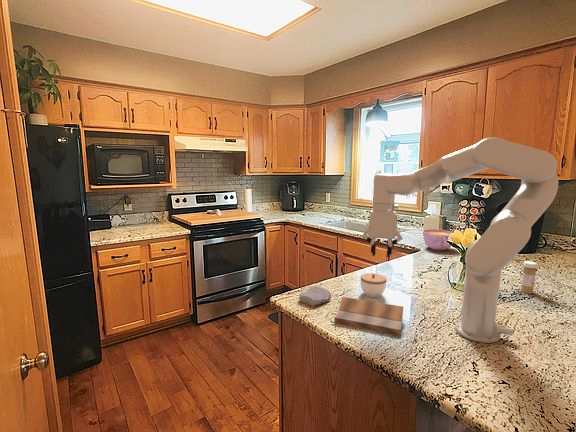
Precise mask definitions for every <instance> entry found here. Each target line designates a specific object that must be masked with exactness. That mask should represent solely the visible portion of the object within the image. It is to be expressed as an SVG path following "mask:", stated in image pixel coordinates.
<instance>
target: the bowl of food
mask: <svg viewBox="0 0 576 432" xmlns="http://www.w3.org/2000/svg"><path fill="white" fill-rule="evenodd" d="M452 232H453V231H451V230H446V229H437V228H436V229H434V228H431V229H428V228H427V229H423V230H422V234H423V235H422V236H423V240H424V241H423V242H424V244H425V245H426V246H427V247H428V248H429V249H431V250H433V251H439V252H440V251H445V250H447V249H449V248H450V247H451V248H452V245H450V244H448V242H447V241H448V237H449V235H450V234H451V233H452Z"/></svg>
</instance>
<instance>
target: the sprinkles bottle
mask: <svg viewBox="0 0 576 432" xmlns="http://www.w3.org/2000/svg"><path fill="white" fill-rule="evenodd" d="M522 265H523V269H522V270H523V271H522V277H521V289H520V291H521V292H522V293H524V294H529V295H531V294H534V287H535V281H536V274H537V273H536V272H537V268H538V263H537V262H534V261H531V260H530V261H529V260H527V261H526V260H525V261H524V262H523V264H522Z"/></svg>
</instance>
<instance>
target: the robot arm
mask: <svg viewBox="0 0 576 432" xmlns="http://www.w3.org/2000/svg"><path fill="white" fill-rule="evenodd" d="M557 168H558V162H557V158H556V157H555V156H554V155H553V154H552V153H550V152H548V151H546V150H542V149H538V148H535V147H532V146H528V145H525V144H520V143H517V142H513V141H510V140H506V139H503V138H499V137H495V136H494V137H493V136H492V137H491V136H490V137H486V138H483V139H481V140H480V141H479V142H477V143H475V144H473V145H471V146H470V145H469V147H468V146H467V147H466V148H463V149H461V150H458V151H455V152H452V153H449V154H447V155H445V156H442V157H440V158H439V159H438V160H436V161H435V162H434V163H432V164H430V165H428V166H425V167H423V168H419V169H417V170H414V171H412V172H407V173H406V172H405V173H399V174H393V173H378V174H377V173H376V174H375V175H374V178H373V190H372V191H373V192H372V197H373V198H372V209H371V210H370V212H369V218H368V227H367V228H366V230H365V231H364V232H363V234H362V235H361V236H362V238H364V240H366V241H367V242H368V243H369V244H370V253H371V254H372V256H373V257H374V256H376V250H377V249H376V248H377V245H376V239H383V240H384V239H385V240H387V243H388V245H387V249H386V257H387V258H390V256H391V255H392V254H393V253H392V250H393V246H395V245H396V243H399V242H400V241H402V240H403V236H402V234H400V231H399V230H398V218H397V212H396V211H395V210H397V209H399V205H398V204H396V203H395V199H396V196H395V195H398V196H410V195H412V194H415V193H419V192H420V191H423V190H427V189H429V188H432V187H435V186H438V185H439V186H440V185H442V184H448V183H451V182H452V183H453V182H455V181H457V180H460V179H463V178H465V177H469V176H471V175H475V174H478V173H480V172H484V171H486V170H491V171H494V172H497V173H501V174H503V175H507V176H510V177H513V178H516V179H519V180H521V181H520V187H519V188H518V190H517V192H516V193H515V194H514V195H513V196H512V197H511V198H510V200H509V202H507V204H506V205H505V206H504V207H503V208H502V210H501V211H500V212H498V214H497V215H496V216H494V217H493V219H492V220H491V222H490V224H489V226H488V228H487V229H486V230H485V232H484V233H483V234H482V235H481V236H480V237H479V238H478V239H475V240H474V241H472V242H471V243H470V244H469V245H468V246H467V249H466V253H465V257H464V261H465V272H464V275H465V276H464V284H463V285H464V286H463V295H462V307H461V316H460V317H461V318H460V321H456V323H455V324H454V329H455V331H456V333H458V334H459V335H460V336H463V337H464V338H466V339H468V340H470V341H473V342H477V343H484V344H494V343H496V342H498V341H500V338H501V334H502V335H508V336H513V335H514V330H513V329H512V328H507V326H506V325H504V324H498V323H497V322H496V320H497V310H498V301H499V292H500V284H501V274H502V270H503V269H505V268H506V267H507V265H508V264H509V263H510V262H511V261H512V260H513V259H514V258H515V257H516V256H517V255H518V253H520V251H521V250H523V248H524V247H525V246H526V245H527V243H528V242H529V241H530V238H531V236H532V227H533V226H534V224H535V223H536V222H537V221H538V220H539V218H541V216H542V215H543V214H544V213H545V211H546V210H547V209H548V208H549V207H550V206H551V204H552V203H553V201H554V199H555V197H556V196H557V192H558V189H559V177H558V172H557Z"/></svg>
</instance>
